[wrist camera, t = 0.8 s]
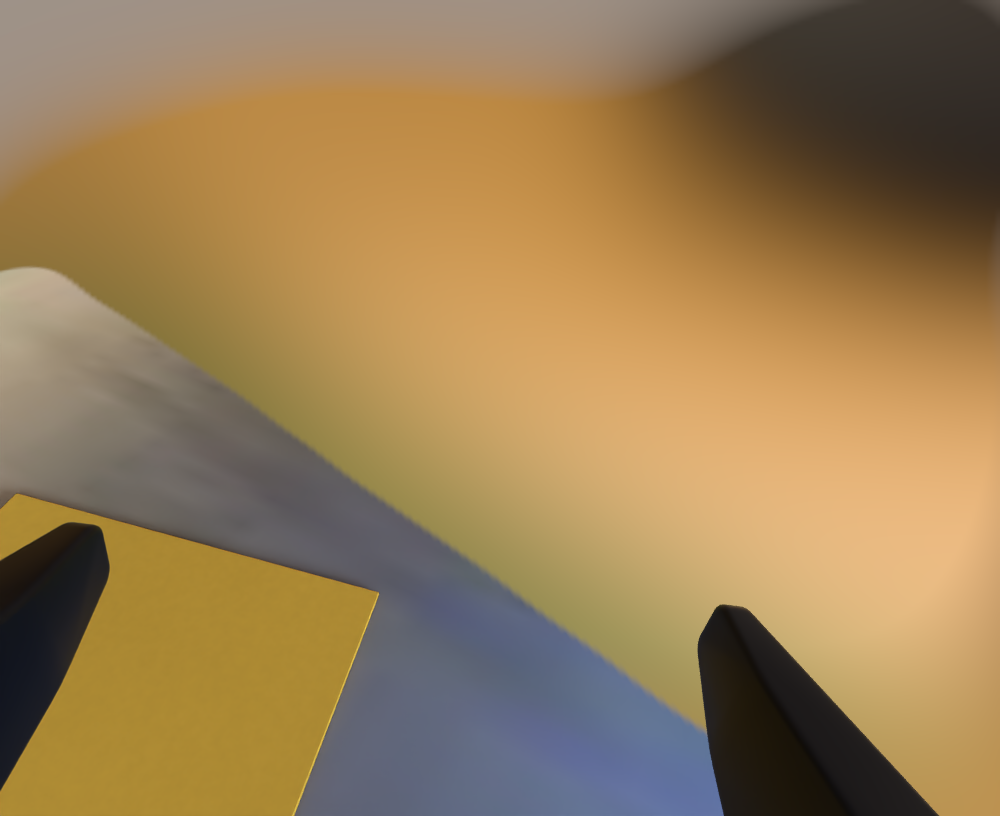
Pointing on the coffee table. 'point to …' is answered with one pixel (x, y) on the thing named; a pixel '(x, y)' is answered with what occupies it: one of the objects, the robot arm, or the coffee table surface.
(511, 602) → the coffee table surface
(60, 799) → the cloth
